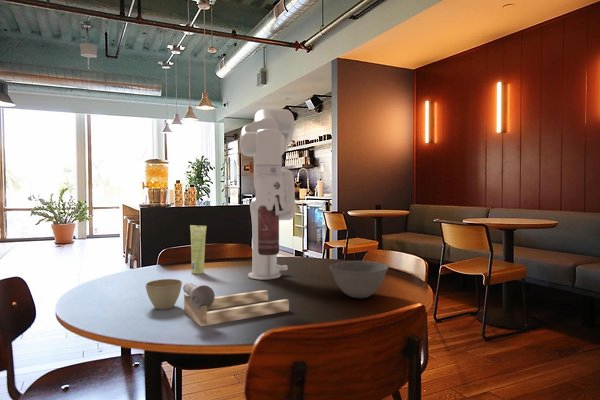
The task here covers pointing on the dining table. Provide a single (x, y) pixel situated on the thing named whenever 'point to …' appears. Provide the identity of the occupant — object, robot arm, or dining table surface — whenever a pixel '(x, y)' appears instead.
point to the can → (267, 232)
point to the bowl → (358, 277)
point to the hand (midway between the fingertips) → (268, 234)
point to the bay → (227, 305)
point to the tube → (197, 248)
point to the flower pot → (163, 292)
